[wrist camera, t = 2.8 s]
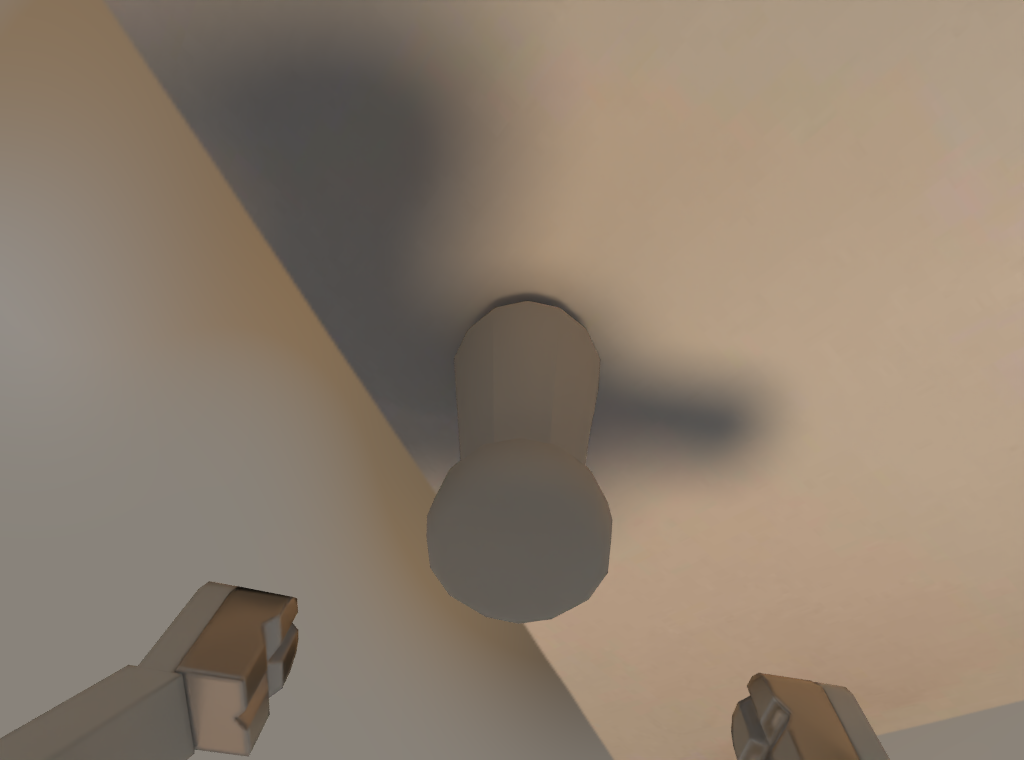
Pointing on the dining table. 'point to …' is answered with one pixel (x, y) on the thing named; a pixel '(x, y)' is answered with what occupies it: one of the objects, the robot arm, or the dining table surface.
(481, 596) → the salt shaker
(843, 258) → the dining table surface
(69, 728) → the robot arm
